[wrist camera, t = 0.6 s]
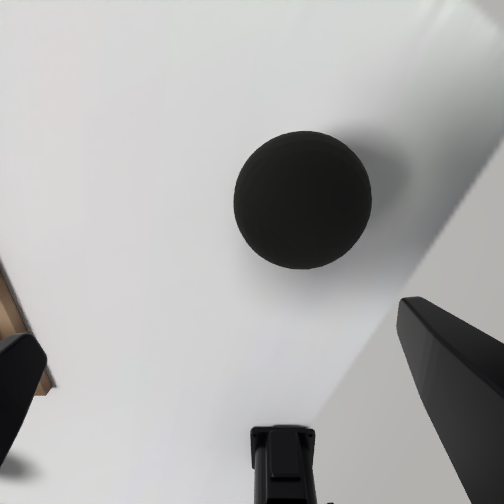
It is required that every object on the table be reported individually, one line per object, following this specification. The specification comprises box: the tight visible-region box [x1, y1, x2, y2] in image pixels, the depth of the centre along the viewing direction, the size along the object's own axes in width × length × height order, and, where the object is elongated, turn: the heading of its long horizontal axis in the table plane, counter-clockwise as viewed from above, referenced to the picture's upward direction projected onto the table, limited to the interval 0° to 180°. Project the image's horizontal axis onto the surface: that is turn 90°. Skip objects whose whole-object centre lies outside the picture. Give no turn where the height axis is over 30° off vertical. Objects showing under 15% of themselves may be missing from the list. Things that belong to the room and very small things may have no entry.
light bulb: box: [234, 131, 372, 269], centre depth 16 cm, size 6×6×10 cm
